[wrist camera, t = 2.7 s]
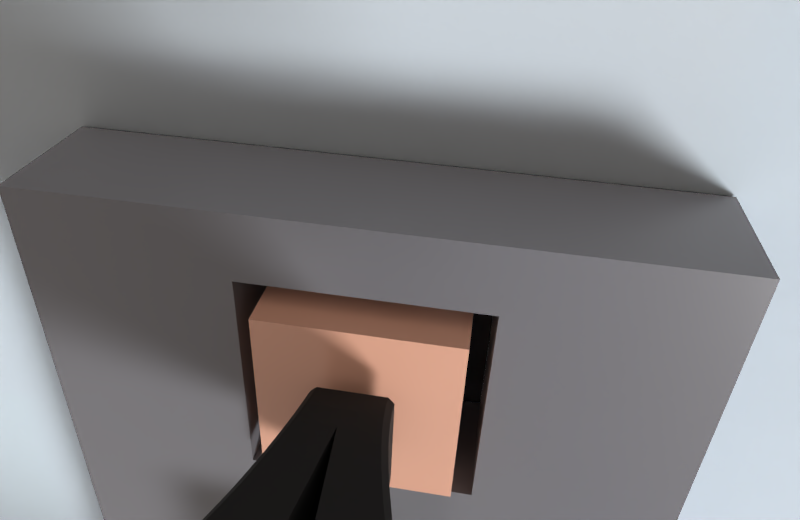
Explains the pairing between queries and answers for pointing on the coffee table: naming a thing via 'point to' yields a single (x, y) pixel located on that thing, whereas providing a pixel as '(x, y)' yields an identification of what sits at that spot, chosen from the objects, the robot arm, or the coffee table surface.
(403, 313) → the terracotta key
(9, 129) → the coffee table surface
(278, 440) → the robot arm
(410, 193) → the grey slotted board
